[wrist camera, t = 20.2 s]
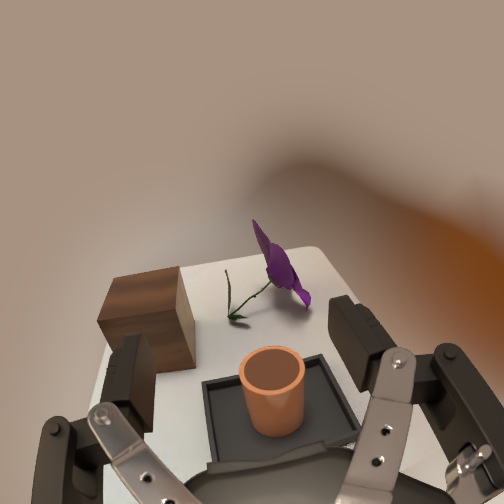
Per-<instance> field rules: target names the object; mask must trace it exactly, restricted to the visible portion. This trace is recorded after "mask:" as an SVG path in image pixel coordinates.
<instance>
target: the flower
mask: <svg viewBox="0 0 504 504" xmlns="http://www.w3.org/2000/svg"><path fill="white" fill-rule="evenodd" d="M253 227H254V231H255V234H256V238H257V240H258V243H259V245H260V248H261V250H262V252H263V254H264V257H265V260H266V263H267V266H268V267H267V268H266V271H267V274H268V278H269V280H270V282H269V283H268V284H267V285H266V286H265V287H264V288H263V289H262V290H261V291H259V292H258V293H256V294H254V295H253V296H251V297H249V298H248V299H247V300H246V301H245V302H244V303H243V304H242V305H241V306H240V307H239V308H238V309H237V310H235V311H234V312H233V313H231V314H230V315H229V309H230V302H231V285H230V282H229V278H228V274H227V270H225V273H226V276H227V280H228V318H229V319H232V320H233V319H240V318H247V317H243V316H241V315H233V314H234V313H235V312H236V311H238V310H239V309H240V308H241V307H242V306H243V305H244V304H245V303H246V302H247V301H248V300H249V299H251V298H252V297H254V298H255V297H256V295H257V294H259V293H261V292H262V291H263V290H264V289H265V288H266V287H267V286H268V285H269V284H270V283H271V282H272V283H273V284H274V285H275V286H276V287H278V286H279V287H278V288H280V287H281V288H282V287H284V288H286V289H289V290H291V289H293V290H294V291H295V292H296V293H297V294H298V295H299V296H300V298H301V299H302V301H303V302H304V303H305V305H306V311H307V308H308V307H309V305H310V302H311V297H310V295H309V292H307V291H306V290H304V289H302V286H301V283H300V281H299V278H298V276H297V274H296V272H295V270H294V268H293V267H292V266H291V264H290V261H289V259H288V257H287V255H286V253H285V252H284V250H283V249H282V248H281V247H279V245H277V244H274V243H271V242H270V240H269V239H268V237H267V236H266V235H265V234H264V233H263V231H262V230H261V228H260V227H259V226H258V224H257V223H256V221H255V220H253ZM261 288H262V287H261ZM282 289H283V288H282Z"/></svg>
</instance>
